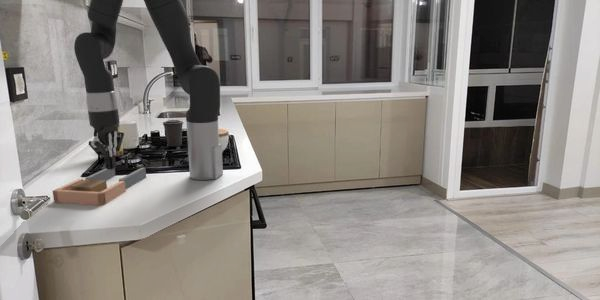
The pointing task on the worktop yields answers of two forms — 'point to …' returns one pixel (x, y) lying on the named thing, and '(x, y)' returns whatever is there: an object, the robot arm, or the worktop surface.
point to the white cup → (130, 133)
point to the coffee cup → (173, 132)
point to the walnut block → (90, 185)
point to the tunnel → (128, 179)
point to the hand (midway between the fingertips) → (111, 168)
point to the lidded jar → (223, 138)
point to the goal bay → (88, 194)
